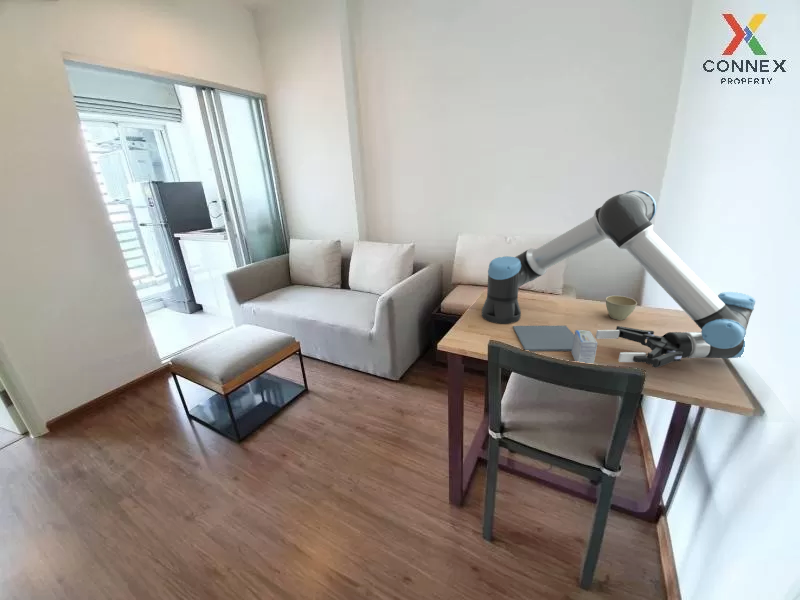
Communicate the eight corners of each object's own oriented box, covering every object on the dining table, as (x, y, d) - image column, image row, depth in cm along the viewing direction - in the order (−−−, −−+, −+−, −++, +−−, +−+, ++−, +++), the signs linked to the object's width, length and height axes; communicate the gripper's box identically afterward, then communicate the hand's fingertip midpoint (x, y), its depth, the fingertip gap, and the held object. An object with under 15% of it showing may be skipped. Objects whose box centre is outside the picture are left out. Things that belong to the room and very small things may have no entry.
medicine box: (593, 368, 97) (598, 342, 94) (576, 367, 98) (581, 341, 95) (586, 354, 104) (590, 330, 101) (570, 353, 106) (574, 329, 102)
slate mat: (525, 351, 108) (525, 349, 108) (513, 327, 124) (513, 325, 123) (585, 351, 106) (586, 349, 106) (565, 327, 122) (565, 325, 122)
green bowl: (600, 310, 134) (604, 294, 131) (629, 313, 130) (633, 296, 127) (604, 321, 125) (608, 303, 122) (635, 324, 121) (640, 306, 119)
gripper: (713, 381, 86) (628, 380, 88) (653, 335, 109) (586, 336, 111) (723, 356, 83) (634, 356, 85) (659, 315, 106) (590, 316, 108)
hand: (607, 345), depth 98 cm, fingers open, 13 cm apart
